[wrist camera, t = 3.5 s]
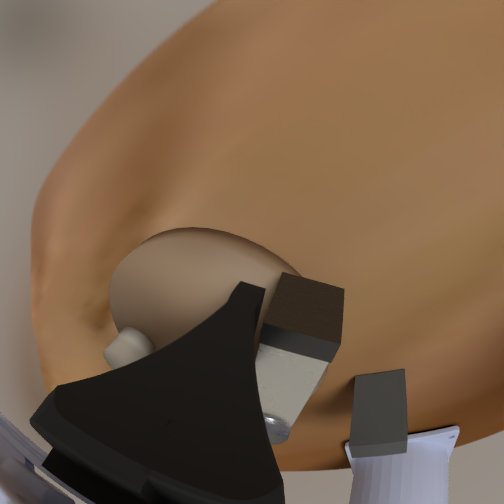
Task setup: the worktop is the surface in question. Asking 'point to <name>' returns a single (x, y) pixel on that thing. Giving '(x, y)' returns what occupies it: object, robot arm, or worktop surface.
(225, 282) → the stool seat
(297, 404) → the hinged leg
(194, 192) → the worktop surface
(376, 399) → the block
